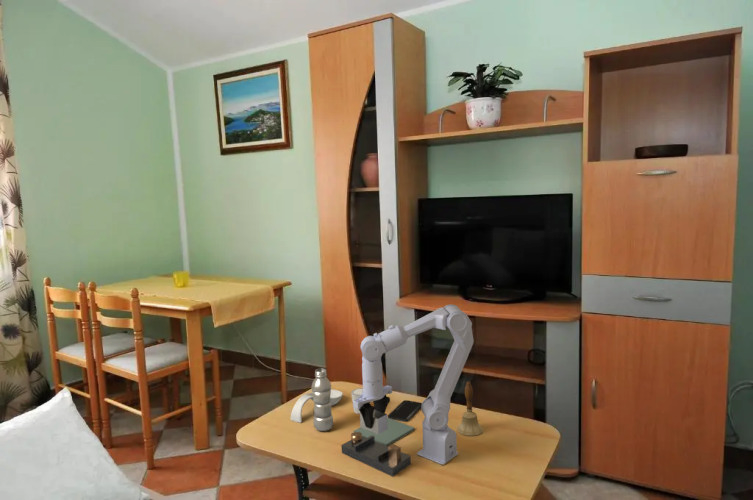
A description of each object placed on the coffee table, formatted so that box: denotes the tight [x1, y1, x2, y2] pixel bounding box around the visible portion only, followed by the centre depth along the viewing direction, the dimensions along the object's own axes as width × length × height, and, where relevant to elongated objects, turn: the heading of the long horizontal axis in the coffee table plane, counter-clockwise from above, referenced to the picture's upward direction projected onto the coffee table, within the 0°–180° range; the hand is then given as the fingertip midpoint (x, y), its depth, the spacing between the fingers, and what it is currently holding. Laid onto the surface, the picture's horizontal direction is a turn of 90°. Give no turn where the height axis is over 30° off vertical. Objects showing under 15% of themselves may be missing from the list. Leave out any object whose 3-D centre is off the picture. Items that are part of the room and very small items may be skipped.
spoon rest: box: [290, 388, 344, 424], centre depth 179 cm, size 24×12×7 cm, turn 149°
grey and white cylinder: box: [350, 387, 363, 415], centre depth 177 cm, size 7×7×7 cm
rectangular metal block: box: [359, 410, 388, 434], centre depth 143 cm, size 7×4×4 cm, turn 48°
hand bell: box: [456, 381, 484, 437], centre depth 159 cm, size 8×8×16 cm
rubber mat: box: [353, 417, 416, 447], centre depth 161 cm, size 14×14×1 cm
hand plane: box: [341, 431, 412, 478], centre depth 144 cm, size 20×8×6 cm, turn 48°
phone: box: [387, 399, 422, 423], centre depth 175 cm, size 8×1×15 cm
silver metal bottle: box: [310, 368, 334, 432], centre depth 163 cm, size 6×7×20 cm
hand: (374, 424), depth 143 cm, fingers closed on rectangular metal block, 4 cm apart
